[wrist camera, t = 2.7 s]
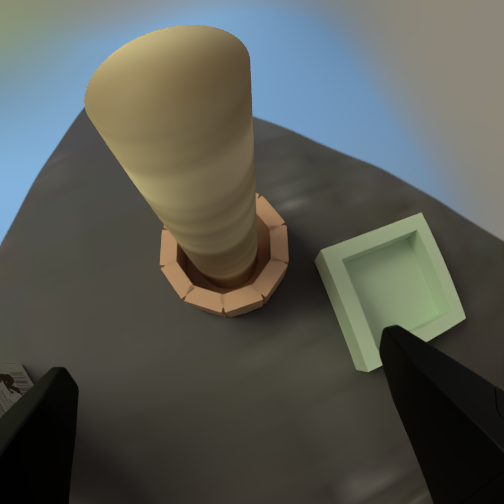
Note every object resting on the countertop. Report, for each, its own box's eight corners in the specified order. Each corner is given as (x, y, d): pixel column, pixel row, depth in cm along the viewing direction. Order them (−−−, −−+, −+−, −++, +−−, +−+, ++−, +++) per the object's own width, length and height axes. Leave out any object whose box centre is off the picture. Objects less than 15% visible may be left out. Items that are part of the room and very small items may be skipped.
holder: (302, 292, 21) (309, 282, 18) (191, 331, 21) (178, 328, 17) (263, 196, 23) (263, 172, 20) (162, 231, 23) (146, 212, 20)
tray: (447, 322, 20) (465, 318, 18) (356, 369, 20) (368, 372, 17) (407, 225, 22) (421, 212, 20) (314, 261, 22) (320, 249, 19)
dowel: (266, 276, 21) (277, 99, 6) (208, 296, 21) (86, 164, 6) (246, 223, 22) (222, 12, 7) (191, 242, 22) (85, 58, 7)
